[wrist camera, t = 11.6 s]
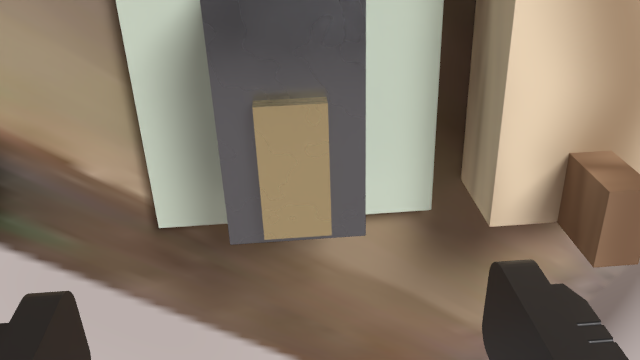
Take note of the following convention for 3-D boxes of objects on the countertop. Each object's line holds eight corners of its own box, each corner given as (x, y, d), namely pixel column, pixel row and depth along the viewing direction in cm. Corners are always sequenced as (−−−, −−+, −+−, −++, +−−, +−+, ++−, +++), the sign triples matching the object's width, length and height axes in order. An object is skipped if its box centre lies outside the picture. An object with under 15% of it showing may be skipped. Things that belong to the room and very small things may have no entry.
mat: (161, 218, 27) (158, 228, 26) (107, -72, 21) (102, -69, 20) (427, 201, 27) (431, 209, 27) (443, -86, 22) (448, -85, 21)
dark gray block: (236, 192, 25) (229, 253, 21) (211, -29, 21) (196, -5, 17) (352, 184, 26) (367, 244, 22) (350, -36, 21) (368, -13, 17)
